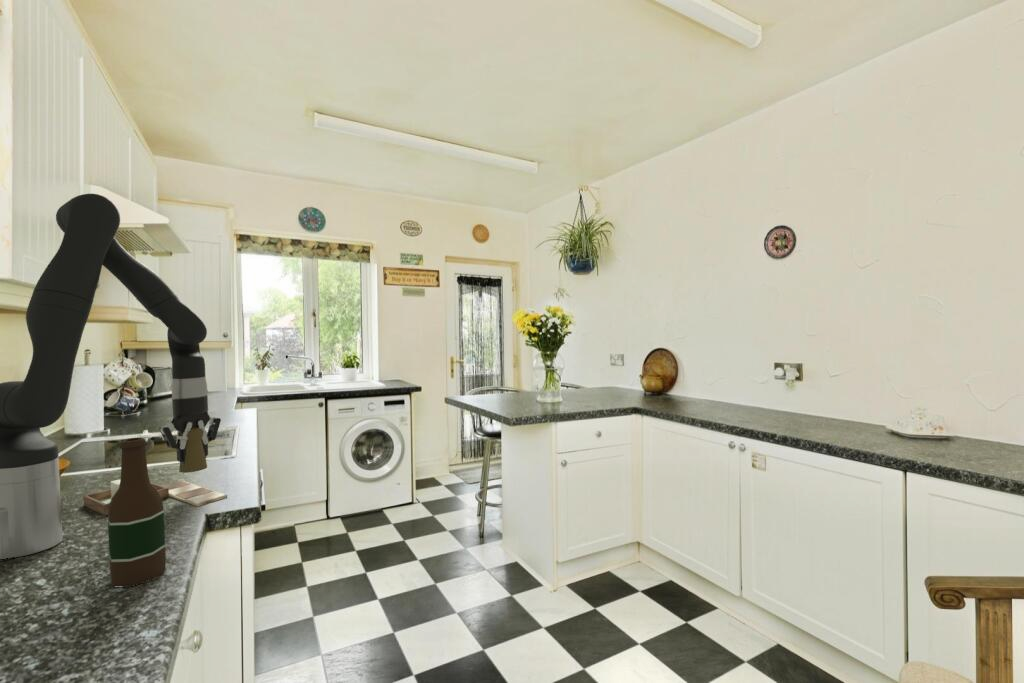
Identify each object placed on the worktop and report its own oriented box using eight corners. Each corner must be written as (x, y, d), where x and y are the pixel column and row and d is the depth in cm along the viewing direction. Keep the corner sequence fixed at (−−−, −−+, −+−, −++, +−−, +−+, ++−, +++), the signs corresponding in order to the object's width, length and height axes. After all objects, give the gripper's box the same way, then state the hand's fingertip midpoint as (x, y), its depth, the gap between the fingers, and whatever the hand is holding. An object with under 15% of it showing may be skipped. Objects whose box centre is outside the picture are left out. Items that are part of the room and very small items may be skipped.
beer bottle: (101, 593, 75) (94, 447, 74) (119, 571, 82) (113, 437, 81) (159, 582, 78) (153, 441, 77) (172, 561, 85) (166, 432, 84)
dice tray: (104, 515, 108) (104, 505, 108) (83, 505, 115) (83, 495, 114) (168, 497, 119) (168, 488, 119) (146, 489, 126) (146, 480, 126)
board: (197, 506, 112) (197, 503, 112) (152, 490, 125) (152, 487, 125) (227, 497, 118) (227, 494, 118) (181, 482, 131) (181, 480, 131)
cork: (184, 474, 116) (182, 430, 115) (175, 470, 119) (173, 427, 119) (211, 467, 121) (209, 426, 120) (202, 464, 124) (200, 423, 124)
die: (118, 505, 113) (117, 484, 113) (111, 501, 116) (110, 481, 116) (143, 498, 118) (143, 478, 117) (136, 494, 120) (135, 475, 120)
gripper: (211, 390, 127) (214, 452, 128) (150, 398, 115) (154, 466, 116) (226, 392, 124) (229, 455, 124) (165, 400, 111) (168, 470, 112)
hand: (192, 460), depth 120 cm, fingers closed on cork, 4 cm apart
